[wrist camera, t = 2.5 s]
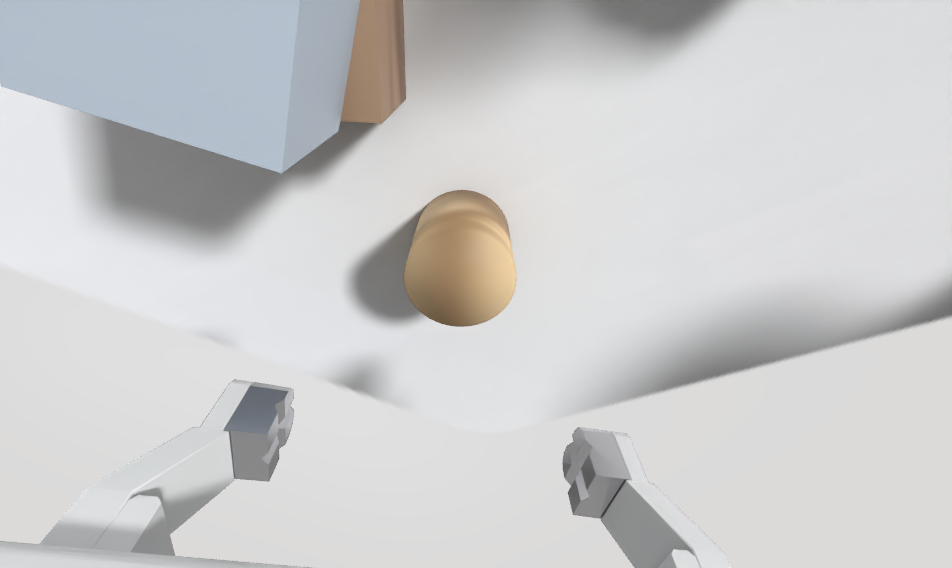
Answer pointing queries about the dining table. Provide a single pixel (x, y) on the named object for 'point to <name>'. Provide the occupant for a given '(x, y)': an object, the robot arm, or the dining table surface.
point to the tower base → (376, 63)
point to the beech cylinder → (461, 260)
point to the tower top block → (190, 68)
